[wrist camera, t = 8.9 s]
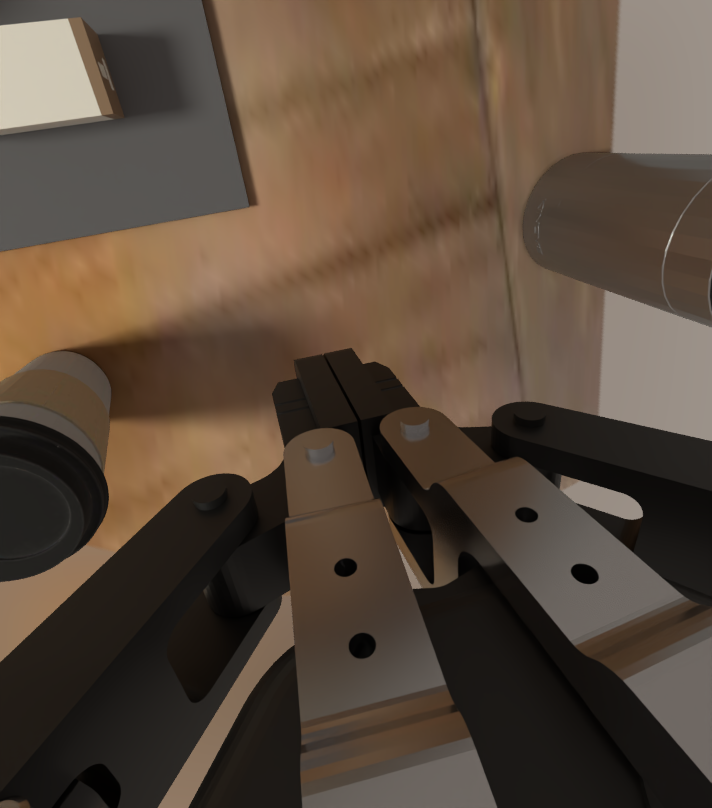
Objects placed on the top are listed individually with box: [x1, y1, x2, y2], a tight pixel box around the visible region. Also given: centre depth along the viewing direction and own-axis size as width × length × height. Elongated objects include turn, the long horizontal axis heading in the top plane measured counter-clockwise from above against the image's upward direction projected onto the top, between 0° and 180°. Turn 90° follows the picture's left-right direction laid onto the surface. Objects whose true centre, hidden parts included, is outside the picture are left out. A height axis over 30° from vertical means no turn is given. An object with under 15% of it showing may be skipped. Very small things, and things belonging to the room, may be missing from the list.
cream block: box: [0, 17, 125, 135], centre depth 25 cm, size 4×4×9 cm
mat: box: [0, 0, 249, 251], centre depth 26 cm, size 24×16×1 cm, turn 98°
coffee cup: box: [0, 351, 111, 582], centre depth 29 cm, size 9×9×15 cm
